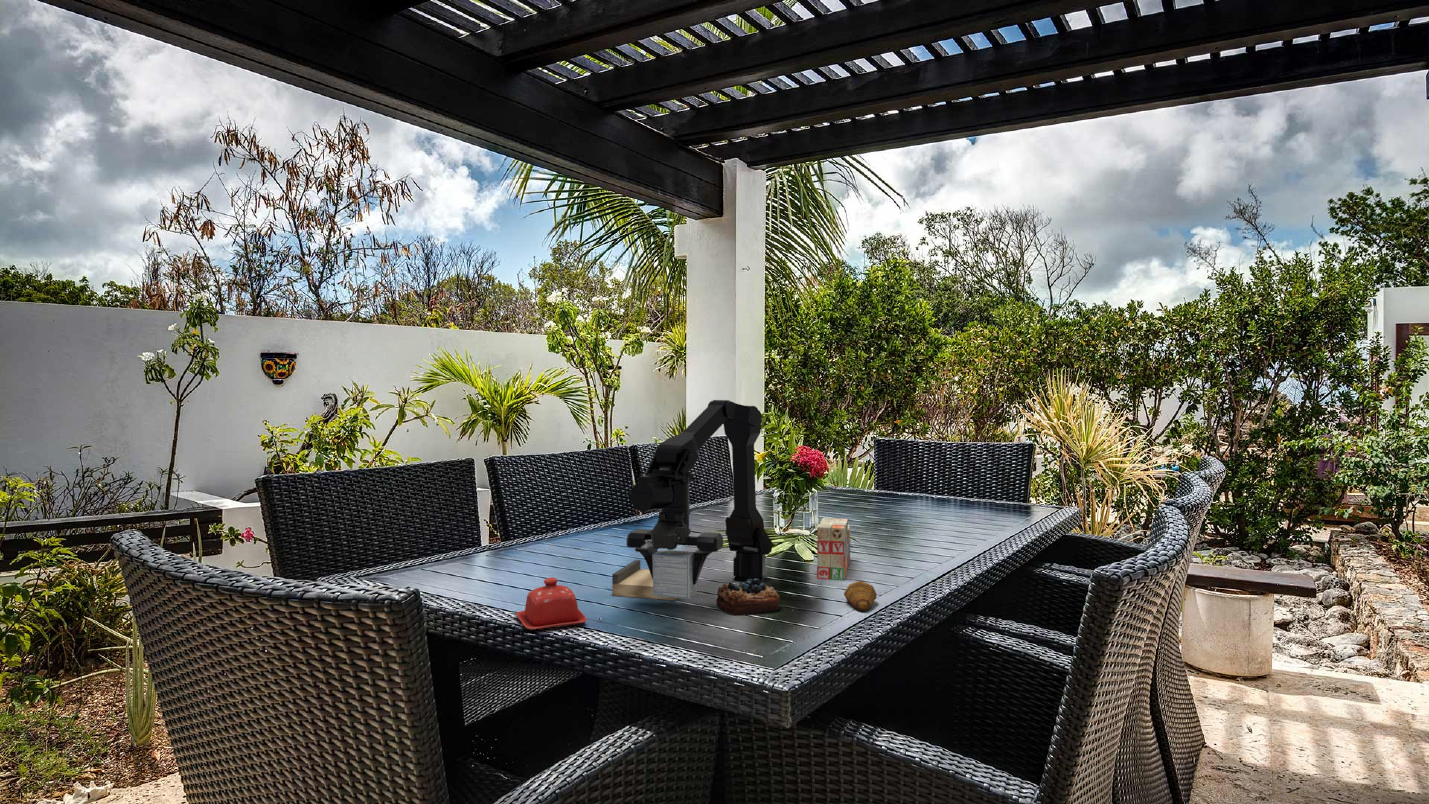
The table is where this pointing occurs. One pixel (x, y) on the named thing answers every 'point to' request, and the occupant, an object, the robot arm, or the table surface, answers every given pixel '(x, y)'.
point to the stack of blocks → (833, 548)
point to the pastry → (747, 598)
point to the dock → (634, 582)
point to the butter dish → (550, 607)
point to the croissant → (860, 595)
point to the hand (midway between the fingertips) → (674, 582)
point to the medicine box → (673, 574)
